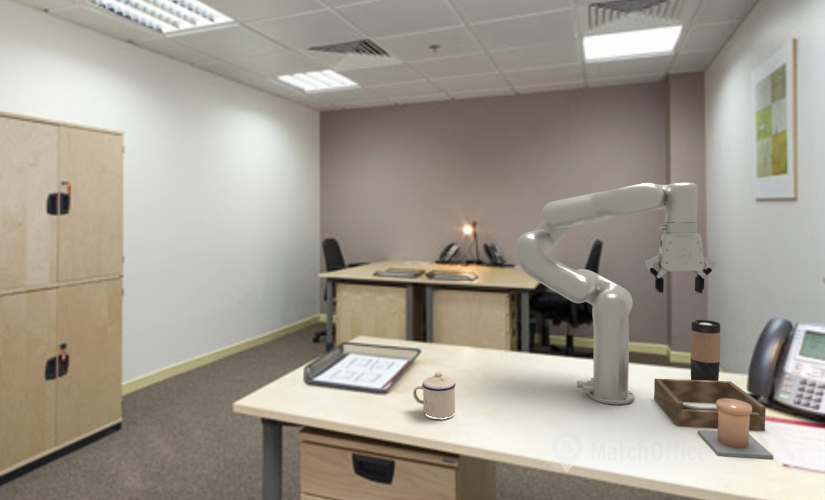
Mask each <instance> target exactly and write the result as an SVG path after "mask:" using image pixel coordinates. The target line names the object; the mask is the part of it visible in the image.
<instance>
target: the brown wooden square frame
mask: <svg viewBox="0 0 825 500" xmlns="http://www.w3.org/2000/svg"><path fill="white" fill-rule="evenodd" d="M653 386H654V389H653V390H654V392H653V393H654V394H653V395H654V396H653V399H654V400H655V402H656V403H657V404H658V405H659V406H660V407H661V409H662V410H663V412H665V413H666V415H667V416H668V417H669V419H671V421H672V422H673V423H674V425H676V426H677V427H687V428H689V427H692V428H707V429H709V428H710V429H718V410H713V409H712V410H709V409H707V410H706V409H687V408H685V409H684V407H683V406H684V405H683V402H689V403H706V404H707V403H708V404H709V403H710V404H716V402H717V400H718V399H723V398H728V399H736V400H740V401H743V402H746V403H748V404H750V405H751V406H752V413H751V414H750V418H749V431H763V432H764V431H766V412H767V411H766V409H767V408H766V406H765V405H764V404H763V403H761V402H759V400H757V399H755V398H754V397H752V396H751V395H750V394H749V393H747V392H746V391H744V390H743V389H742V388H740V387H739V386H737V384H735V383H733V381H730V380H718V381H708V380H691V379H675V378H654V385H653Z"/></svg>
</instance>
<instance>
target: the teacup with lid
mask: <svg viewBox="0 0 825 500" xmlns="http://www.w3.org/2000/svg"><path fill="white" fill-rule="evenodd" d="M417 390H423V391H422V392H423V393H422V395H423V396H422V397H423V400H422V399H420V398H419V397H418V394H417ZM455 391H456V381H455V380H454V379H453V378H451V377H449V376H446V375H443V372H442V371H435V373H434V375H432V376H429V377H427V378H425V379H423V380H422V385H418V386H416V387H415V388H414V389H413V391H412V394H413V398H414V400H415V402H417V403H418V404H420V405H423V414H424V413H425V414H427V415H429V416H432V417H436V418H445V417H450V416H452V415H453V414H454V413H455V414H456V392H455Z"/></svg>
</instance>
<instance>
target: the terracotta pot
mask: <svg viewBox="0 0 825 500" xmlns="http://www.w3.org/2000/svg"><path fill="white" fill-rule="evenodd" d="M715 405H716V408H717V409H718V410H717V411H718V428H717V431H718V438H717V439H718V441H719V442H720V443H722V444H724V445H727V446H730V447H734V448H746V447H748V446H749V434H750V430H749V418H750V414H751V413H752V406H751V405H750V404H748V403H746V402H743V401H740V400H736V399H728V398H723V399H718V400H717V402H716V403H715Z"/></svg>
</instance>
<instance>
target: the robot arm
mask: <svg viewBox="0 0 825 500" xmlns="http://www.w3.org/2000/svg"><path fill="white" fill-rule="evenodd" d="M698 190H699V188H698V185H697V184H696V183H695V182H694V183H693V182H673V183H669V184H657V183H654V182H643V183H639V184H634V185H633V184H632V185H628V186H623V187H618V188H614V189H610V190H604V191H596V192H592V193H588V194H582V195H577V196H573V197H572V196H571V197H568V198H564V199H558V200H554V201H550V202H548V203H547V204H545V206H543V208H542V210H541V222H540V223H539V224H538V225H537V227H536V228H535V229H534V230H531V231H527V232H524V233H523V234H521V236H519V237H518V239H517V240H516V243H515V247H514V252H515V253H514V254H515V259H516V261H517V264H518V266H519V267H520V269H521V270H522V271H523V272H524V273H525V274H526V275H527V276H528V277H530V278H531V279H533V280H535V281H536V282H538V283H540V284H542V286H545V287H547V288H548V289H550V290H552V291H553V292H555V293H556V294H558V295H560V296H562V297H564V298H565V299H567V300H569V301H570V302H573V303H575V304H582V303H588V304H590V305H591V306H592V324H593V325H592V326H593V329H592V330H593V369H592V370H593V376H592V377H591V378H590V380H587V381H582V380H577V381H576V387H577V388H579V389H582V390H583V391H587V396H589V397H590V398H591V399H592V400H594V401H596V402H599V403H603V404H608V405H627V404H631V403H632V402H634V400H635V395H634V393H633V392H631V391H630V390H629V374H630V373H629V371H630V370H629V367H630V366H629V364H630V363H629V360H630V359H629V357H630V355H629V354H630V331H629V328H630V327H629V324H630V322H629V320H630V319H629V317H630V316H629V315H630V312H631V310H632V309H633V305H634V303H633V297H632V295H631V293H630V292H629V291H628V290H627V289H626V288H625V287H624V286H621V285H619V284H617V283H615V282H614V281H611V280H610V279H608V278H606V277H604V276H602V275H600V274H598V273H596V272H594V271H592V270H590V269H584V268H579V269H573V268H571V267H570V266H567V265H565V264H564V263H562V262H560V261H558V260H556V259H554V258H552V257H550V256H548V254H549V253H550V252H552V251H553V249H554V248H555V247H556V246H557V245H558V243H559V242H560V240H562V239H563V237H564V235H566V233H567V232H568V231H569V229H570V227H576V226H581V225H582V226H583V225H587V224H592V223H599V222H603V221H604V222H605V221H606V220H609V219H613V218H616V217H623V216H627V215H632V214H633V215H635V214H639V213H645V212H652V211H658V210H664V222H663V224H660V225H659V226H658V229H659V231H663V234H661V237H660V243H659V248H658V255H656V256H654V257H652V258H650V259H648V260H645V262H644V264H645V267H646V268H647V269H648V272H650V274H652V276H653V277H654V278H655V280H654V281H655V282H654V284H655V286H654V288H655V290H656V292H658V293H660V294H663V293H664V277H663V276H664V275H665V274H666V273H667V272H669V273H670V272H673V273H676V272H677V273H679V272H680V273H687V272H689V273H692V272H693V273H695V275H696V276H695V278H694V291H695V292H696V293H698V294H703V290H704V289H705V279H706V278H707V276H708V275H709V274H711V272H713V269H714V267H715V266H716V264H717V263H716V262H717V261H715V260H713V259H711V258H708V257H707V256H704V248H703V247H704V246H703V243H702V241H703V240H702V236H701V234H700V233H698V232H697V231H698V197H699V195H698V193H699V192H698ZM655 263H657V265H658V268H657V270H656V269H655V267H654V266H653V265H654V264H655ZM705 263H706V267H704V264H705Z"/></svg>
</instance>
